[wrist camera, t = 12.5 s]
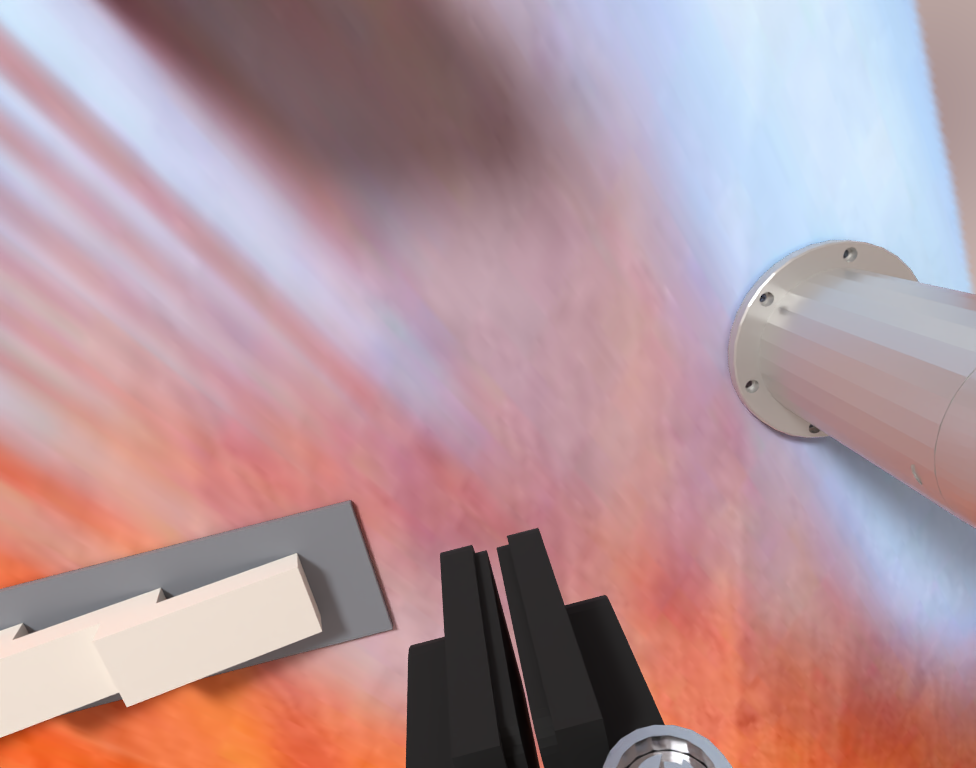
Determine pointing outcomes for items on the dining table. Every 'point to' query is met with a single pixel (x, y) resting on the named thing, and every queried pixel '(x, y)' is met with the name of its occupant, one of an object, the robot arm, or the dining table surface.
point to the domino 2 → (208, 629)
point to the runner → (190, 565)
